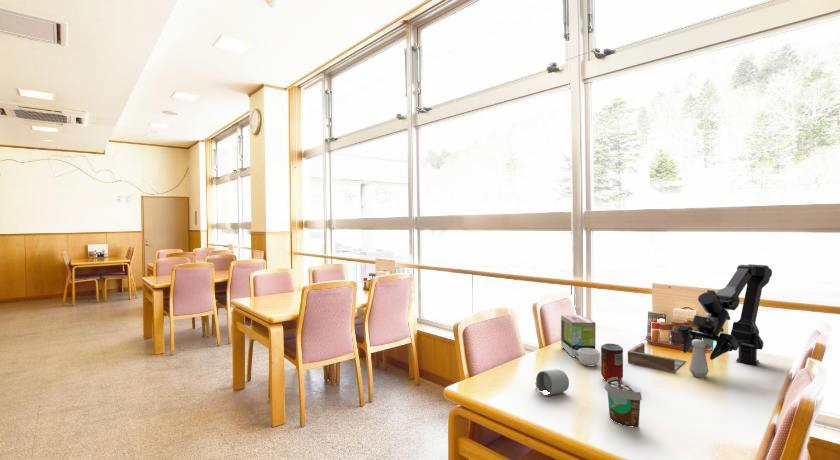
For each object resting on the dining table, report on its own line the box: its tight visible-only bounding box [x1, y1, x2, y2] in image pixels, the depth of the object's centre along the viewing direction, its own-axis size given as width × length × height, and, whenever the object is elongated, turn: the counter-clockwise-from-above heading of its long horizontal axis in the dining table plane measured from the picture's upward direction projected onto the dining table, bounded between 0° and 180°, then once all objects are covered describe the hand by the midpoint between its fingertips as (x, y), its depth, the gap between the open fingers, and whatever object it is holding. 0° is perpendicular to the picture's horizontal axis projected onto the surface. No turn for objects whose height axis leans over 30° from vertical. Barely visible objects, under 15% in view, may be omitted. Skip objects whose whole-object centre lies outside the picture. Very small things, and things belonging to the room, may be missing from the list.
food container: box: [604, 377, 643, 428], centre depth 119 cm, size 12×6×10 cm, turn 5°
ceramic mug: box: [535, 369, 570, 396], centre depth 140 cm, size 11×8×8 cm
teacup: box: [574, 348, 601, 366], centre depth 168 cm, size 10×8×5 cm
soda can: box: [600, 343, 624, 382], centre depth 150 cm, size 7×7×12 cm
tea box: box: [560, 314, 597, 357], centre depth 182 cm, size 15×10×15 cm
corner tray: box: [627, 342, 687, 373], centre depth 168 cm, size 16×16×4 cm
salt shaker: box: [689, 338, 709, 379], centre depth 153 cm, size 6×6×13 cm
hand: (697, 355), depth 152 cm, fingers open, 9 cm apart
